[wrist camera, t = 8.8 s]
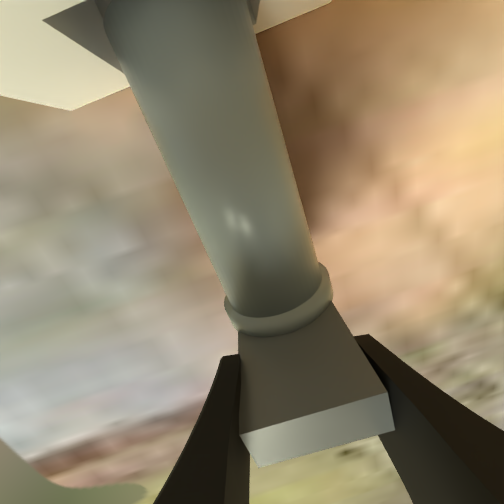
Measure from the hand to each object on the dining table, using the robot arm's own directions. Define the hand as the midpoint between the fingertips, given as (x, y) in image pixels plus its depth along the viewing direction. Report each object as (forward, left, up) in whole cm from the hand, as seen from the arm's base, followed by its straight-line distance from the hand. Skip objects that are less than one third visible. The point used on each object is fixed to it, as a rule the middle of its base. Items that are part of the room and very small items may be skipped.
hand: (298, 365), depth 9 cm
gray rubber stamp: (0, +6, -5) cm, 8 cm away
